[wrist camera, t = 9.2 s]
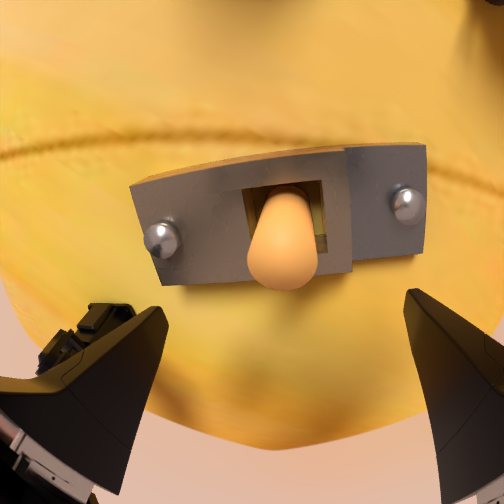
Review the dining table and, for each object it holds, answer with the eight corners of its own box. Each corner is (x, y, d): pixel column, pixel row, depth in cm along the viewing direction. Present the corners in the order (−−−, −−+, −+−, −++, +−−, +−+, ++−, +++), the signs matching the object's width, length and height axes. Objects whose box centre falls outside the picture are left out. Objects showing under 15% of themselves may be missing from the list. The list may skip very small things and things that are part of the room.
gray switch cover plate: (345, 251, 20) (354, 279, 17) (175, 266, 23) (156, 293, 20) (337, 145, 17) (349, 152, 13) (149, 176, 20) (121, 190, 16)
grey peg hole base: (415, 244, 19) (427, 259, 17) (243, 260, 22) (237, 277, 20) (417, 142, 16) (432, 147, 14) (222, 160, 19) (212, 166, 16)
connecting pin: (311, 225, 20) (319, 288, 13) (268, 229, 21) (253, 293, 14) (306, 182, 19) (314, 225, 12) (261, 187, 19) (241, 233, 12)
